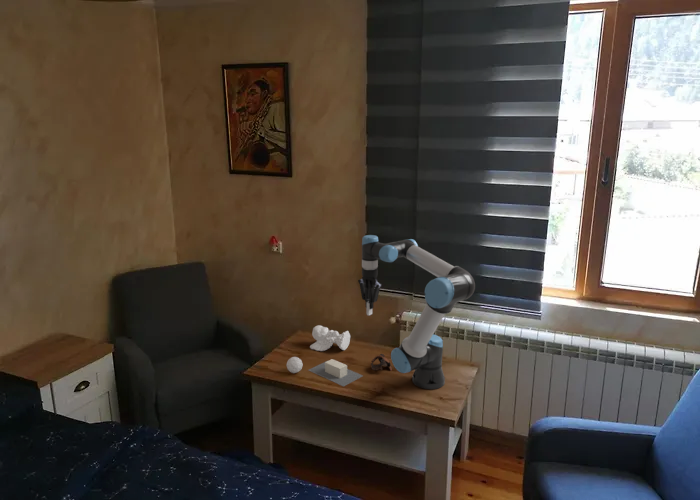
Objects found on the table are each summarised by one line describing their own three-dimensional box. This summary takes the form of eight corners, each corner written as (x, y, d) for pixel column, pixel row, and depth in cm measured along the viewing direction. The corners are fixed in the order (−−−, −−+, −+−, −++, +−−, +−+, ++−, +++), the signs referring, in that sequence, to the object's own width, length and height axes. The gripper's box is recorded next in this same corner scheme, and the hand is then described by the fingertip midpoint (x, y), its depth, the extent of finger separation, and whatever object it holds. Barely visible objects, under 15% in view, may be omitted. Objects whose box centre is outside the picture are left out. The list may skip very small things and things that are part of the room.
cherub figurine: (340, 338, 279) (307, 327, 287) (339, 359, 283) (305, 348, 291) (351, 328, 291) (318, 318, 298) (349, 348, 295) (317, 338, 302)
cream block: (347, 365, 261) (332, 358, 267) (340, 368, 257) (324, 362, 264) (347, 374, 262) (332, 368, 269) (340, 378, 258) (324, 371, 265)
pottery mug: (393, 375, 264) (386, 363, 260) (376, 381, 266) (368, 370, 263) (392, 358, 274) (385, 347, 271) (375, 364, 277) (368, 353, 273)
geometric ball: (299, 376, 266) (307, 367, 263) (285, 375, 262) (293, 365, 258) (295, 364, 271) (303, 354, 268) (281, 362, 267) (289, 352, 263)
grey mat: (363, 376, 261) (363, 375, 261) (343, 387, 251) (343, 386, 251) (327, 361, 277) (327, 360, 277) (307, 370, 267) (307, 370, 266)
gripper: (385, 268, 255) (384, 315, 261) (364, 263, 264) (364, 309, 270) (375, 272, 250) (375, 320, 256) (354, 266, 258) (354, 313, 264)
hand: (369, 314), depth 263 cm, fingers closed
